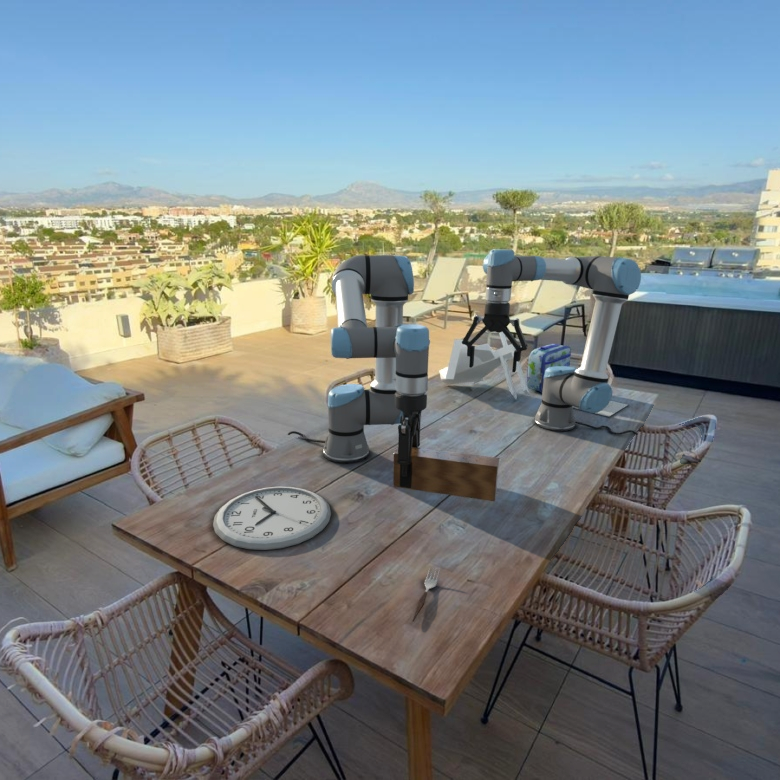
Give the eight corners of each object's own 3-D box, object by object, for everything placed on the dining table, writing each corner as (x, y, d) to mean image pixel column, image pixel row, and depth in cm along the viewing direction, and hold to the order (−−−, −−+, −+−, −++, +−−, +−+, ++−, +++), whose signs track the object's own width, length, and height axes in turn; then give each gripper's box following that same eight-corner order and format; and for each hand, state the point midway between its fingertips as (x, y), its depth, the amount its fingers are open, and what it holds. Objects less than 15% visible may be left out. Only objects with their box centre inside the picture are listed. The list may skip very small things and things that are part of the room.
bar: (496, 491, 126) (499, 457, 123) (494, 501, 121) (497, 466, 119) (398, 477, 132) (399, 445, 130) (393, 486, 128) (393, 453, 125)
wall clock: (329, 541, 123) (198, 546, 121) (329, 547, 124) (199, 552, 121) (332, 482, 152) (226, 484, 149) (332, 487, 152) (226, 489, 150)
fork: (406, 621, 101) (406, 613, 100) (428, 573, 115) (429, 565, 115) (419, 625, 100) (419, 616, 99) (440, 576, 114) (440, 568, 114)
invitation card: (608, 416, 214) (573, 407, 224) (608, 416, 214) (573, 408, 224) (628, 404, 229) (594, 396, 238) (628, 405, 229) (594, 397, 238)
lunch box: (542, 396, 239) (547, 351, 232) (522, 391, 246) (526, 347, 240) (570, 385, 256) (575, 343, 250) (550, 380, 263) (554, 339, 257)
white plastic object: (461, 429, 252) (437, 405, 227) (444, 352, 274) (420, 323, 250) (535, 404, 240) (518, 377, 215) (510, 326, 262) (492, 293, 237)
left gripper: (405, 380, 132) (403, 464, 138) (384, 401, 115) (383, 496, 122) (434, 382, 130) (430, 468, 136) (417, 405, 113) (414, 501, 120)
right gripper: (454, 300, 161) (451, 367, 167) (538, 306, 152) (531, 376, 158) (460, 297, 167) (457, 361, 174) (541, 302, 159) (534, 370, 165)
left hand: (408, 481), depth 129 cm, fingers closed on bar, 5 cm apart
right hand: (492, 369), depth 166 cm, fingers open, 13 cm apart
